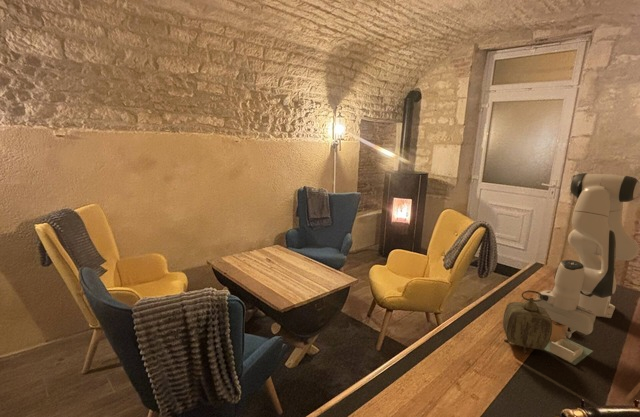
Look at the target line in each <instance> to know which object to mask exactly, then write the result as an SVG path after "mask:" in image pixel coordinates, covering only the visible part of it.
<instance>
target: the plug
mask: <svg viewBox="0 0 640 417" xmlns="http://www.w3.org/2000/svg"><path fill="white" fill-rule="evenodd" d="M568 330H569V327H567V326H565V325H562V324H560V323H558V322H556V321H554V322H552V334H551V337H550V340H552V341H554V342H557V341H558V340H560V339H564V340H565V339H567V337H566V336H565V335H566V334H565V333H566V332H567V331H568Z"/></svg>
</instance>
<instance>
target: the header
mask: <svg viewBox="0 0 640 417" xmlns="http://www.w3.org/2000/svg"><path fill="white" fill-rule="evenodd" d="M563 346H564V347H563ZM565 347H566V348H565ZM567 348H568V349H567ZM569 349H570V350H569ZM571 350H572V351H571ZM549 351H550V352H551V353H550V352H549V353H550V354H552V353H553V354H552V355H554V354H555V355H554V356H556V355H557V356H556V357H558V356H559V357H558V358H560V357H561V358H560V359H562V358H563V359H562V360H564V359H565V360H564V361H566V360H567V361H566V362H568V361H569V362H568V363H570V362H572V361H574V360H575V359H576V358H578V357H579V356H580V355H582V352H583V348H581V347H579V346H577V345H575V344H573V343H571V342H568V341H566V340H564V339H560V340H558V341H557V342H555V343H554V342H551V345H550V350H549ZM573 351H574V352H573Z"/></svg>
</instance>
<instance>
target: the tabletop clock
mask: <svg viewBox="0 0 640 417" xmlns="http://www.w3.org/2000/svg"><path fill="white" fill-rule="evenodd" d="M526 293H533V294H536V295H538V294H539V295H540V296H541V297H542V298H541V299H540V300H535V299H534V298H533V297H530V298H527V297H525V296H524V294H526ZM521 297H522V298H523V299H524V300H526V301H524V302H518V301H511V302H508V304H506V307H505V308H504V309H505V310H504V313H503V317H502V318H503V320H502V327H503V330H504V334H505V336H506V338H505V339H504V340H503V341H504V342H505V343H511V344H514V345H517V346H520V347H523V349H522V350H521V352H522V353H524V354H525V353H527V350H526V348H529V349H535V350H544V349H545V347H546V346H547V345H548V343H549V341H550V337H551V334H552V320H551V318H550V316H549V314H548V313H547V311H546V310H545V308H543V307H540V306H537V304H536V303H534V302H539V301H541V300H542V299H543V296H542V294H541V293H540V292H538V291H537V290H525V291H523V292H522V293H521Z"/></svg>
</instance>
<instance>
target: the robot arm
mask: <svg viewBox="0 0 640 417" xmlns="http://www.w3.org/2000/svg"><path fill="white" fill-rule="evenodd" d="M569 188H570V189H569V190H570V193H571V194H572V196H574V197H576V200H577V201H576V203H575V206H574V209H573V213H572V217H571V224H572V225H571V226H572V227H573V229H572V230H571V231H570V233H568V236H567V242H568V244H569V246H570V247H571V248H572V249H573V250H574V251H575V252H576V254H577V256H578V258H579V261H577V260H573V259H572V260H571V259H565V260H562V261H560V263H559V265H558V266H557V267H556V269H555V272H554V278H553V279H554V287H553V288H552V290H549V289H547V290H543V291H540V292H539V293H541V294H542V296H543V299H542V300H541V301H539V302H534V303H536V304H537V306H540V307H543V308H545V310H546V311H547V313H548V314H549V316H550V318H551V320H553V321H556V322H558V323H560V324H562V325H565V326H567V327H568V329H569V331H567V332H566V333H565V334H566V335H565V336H566V338H567V339H570V338H571V337H572V334H573V333H575V332H579V333H581V334H583V335H586V336H587V335H590V334H591V333H592V332H594V323H595V321H596V317H599V318H600V317H602V318H607V319H611V318H612V317H613V315H614V311H615V309H616V306H615V305H613V304H612V303H611V299H612V296H613V295H614V294H615V292H616V289H617V280H616V260H620V261H628V262H629V261H632V260H634V259H635V258H637V256H638V255H639V253H640V245H639V243H638V241H636V239H634V238H633V237H631V236H630V235H629V234H628V232H627V231H626V230H625V228H624V226H623V221H622V220H623V208H624V203H626V202H627V203H629V202H631V201H633V200H635V198H636V197H637V196H638V195H639V193H640V182H639V180H638V179H637V178H636V177H634V176H630V175H625V176H624V175H619V174H614V173H613V174H611V173H587V172H585V173H577V174H576V175H575V176H573V178H572V180H571V181H570V184H569ZM599 256H601V259H600V257H599ZM536 296H537V297H536V298H535V299H534V300H540V299H541V298H542V297H541V296H540V295H539V294H536Z"/></svg>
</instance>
